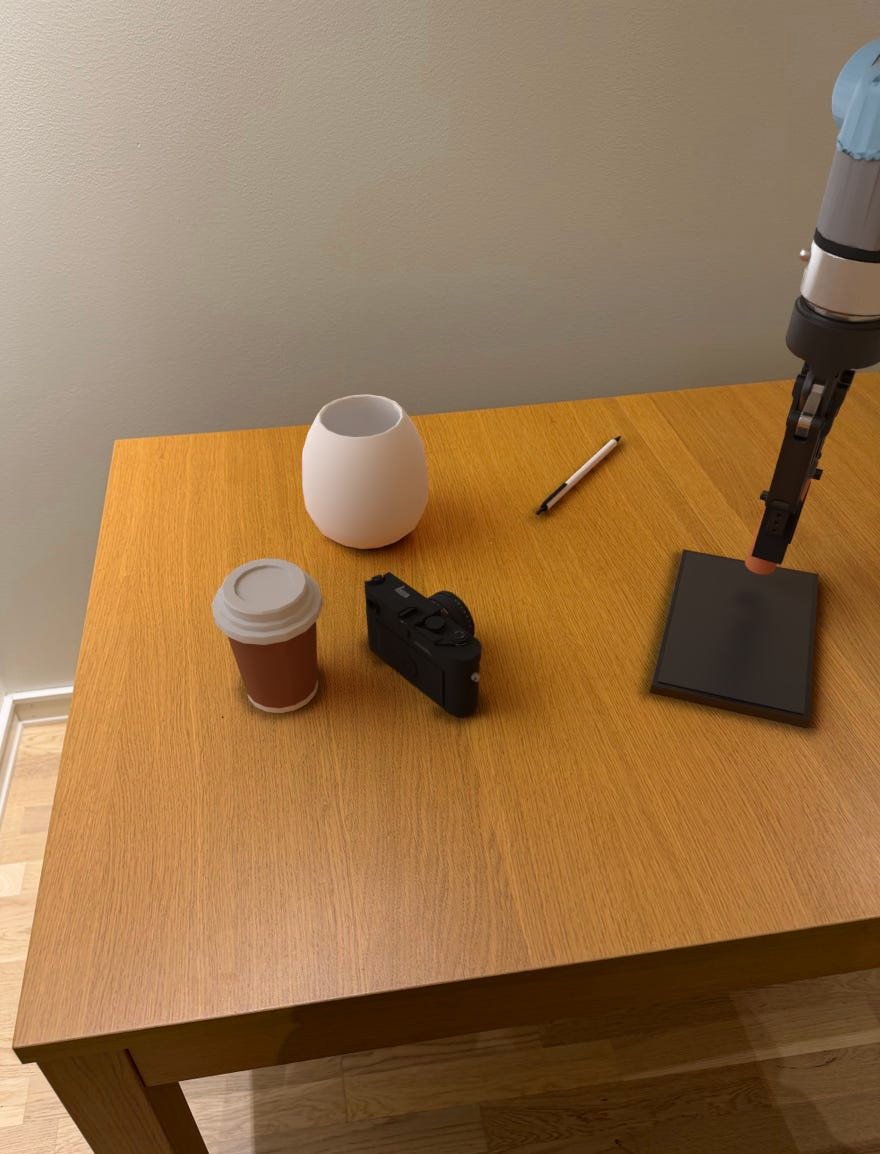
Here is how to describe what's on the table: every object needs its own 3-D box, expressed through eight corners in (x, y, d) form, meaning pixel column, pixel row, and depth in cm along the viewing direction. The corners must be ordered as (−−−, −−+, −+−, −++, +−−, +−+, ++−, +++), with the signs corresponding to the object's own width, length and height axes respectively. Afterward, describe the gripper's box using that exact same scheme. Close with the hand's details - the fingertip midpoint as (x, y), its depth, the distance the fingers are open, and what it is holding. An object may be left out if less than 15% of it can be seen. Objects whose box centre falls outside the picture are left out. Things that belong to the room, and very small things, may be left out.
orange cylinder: (782, 569, 87) (825, 462, 79) (759, 579, 86) (802, 472, 78) (759, 552, 89) (800, 446, 80) (737, 561, 88) (776, 455, 79)
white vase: (284, 521, 101) (268, 411, 91) (381, 477, 106) (375, 369, 97) (354, 581, 93) (344, 467, 84) (454, 530, 98) (455, 418, 89)
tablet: (681, 556, 94) (683, 548, 93) (816, 581, 90) (819, 573, 90) (649, 692, 80) (651, 683, 80) (806, 728, 77) (810, 719, 76)
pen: (533, 515, 100) (534, 507, 99) (616, 438, 110) (618, 430, 110) (540, 518, 99) (541, 510, 98) (623, 440, 110) (624, 432, 109)
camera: (519, 688, 81) (525, 621, 76) (461, 730, 78) (462, 663, 72) (412, 610, 89) (410, 544, 84) (355, 645, 86) (349, 579, 80)
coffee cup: (348, 663, 84) (337, 560, 76) (308, 735, 78) (291, 632, 70) (259, 642, 87) (239, 540, 78) (213, 710, 81) (186, 608, 72)
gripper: (820, 256, 76) (753, 494, 92) (772, 333, 66) (706, 584, 82) (918, 272, 73) (831, 514, 89) (883, 355, 63) (792, 610, 79)
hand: (771, 547), depth 86 cm, fingers closed on orange cylinder, 3 cm apart
